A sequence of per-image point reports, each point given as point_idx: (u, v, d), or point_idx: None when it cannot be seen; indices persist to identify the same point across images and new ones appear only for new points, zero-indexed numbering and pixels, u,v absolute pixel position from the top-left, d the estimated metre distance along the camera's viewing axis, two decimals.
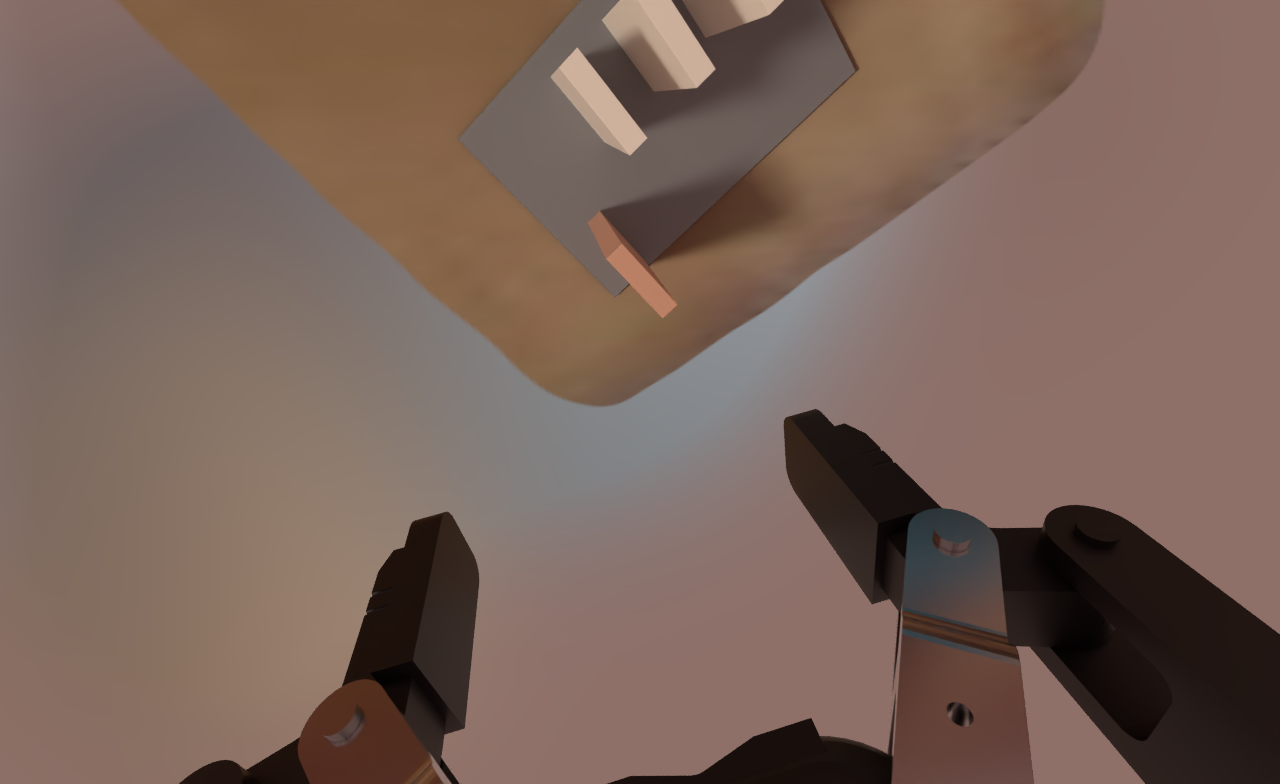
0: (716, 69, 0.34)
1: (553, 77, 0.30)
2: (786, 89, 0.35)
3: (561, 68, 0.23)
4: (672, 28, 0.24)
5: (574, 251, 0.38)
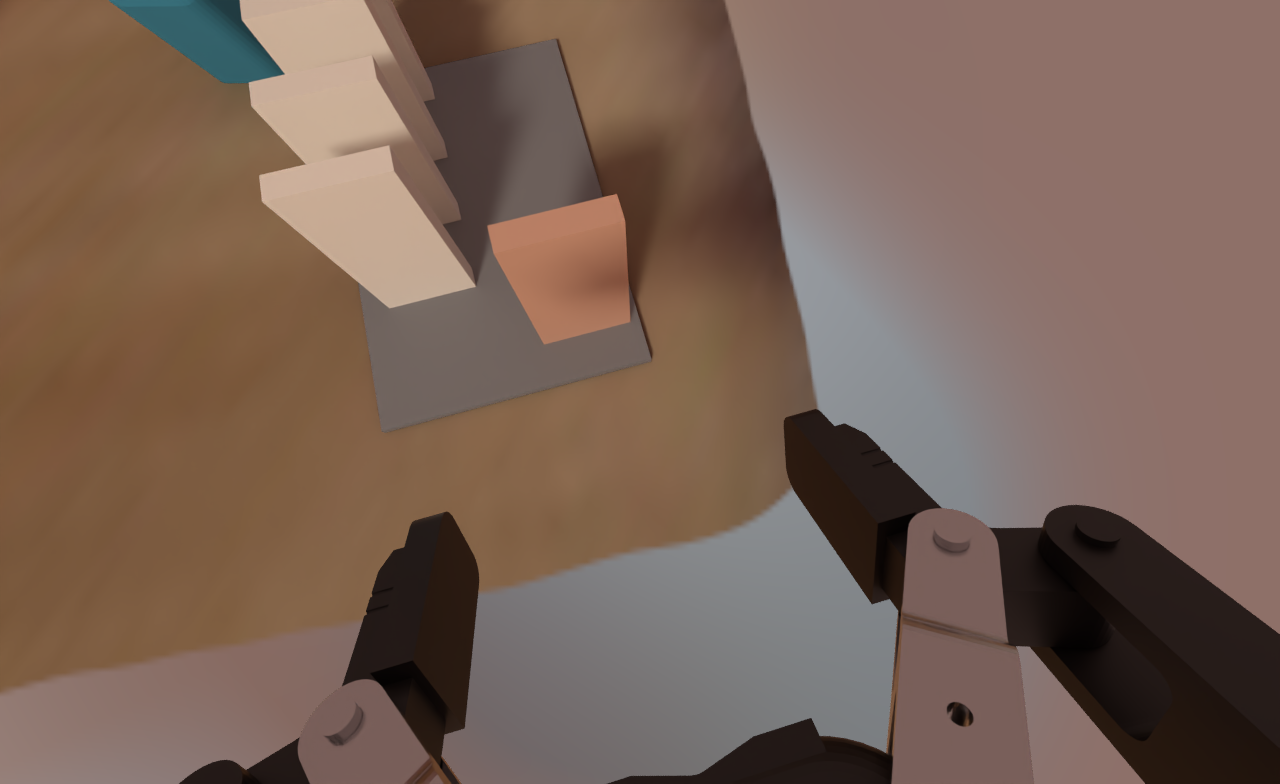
0: (478, 156, 0.31)
1: (372, 291, 0.27)
2: (534, 101, 0.32)
3: (265, 199, 0.19)
4: (309, 81, 0.20)
5: (566, 376, 0.28)
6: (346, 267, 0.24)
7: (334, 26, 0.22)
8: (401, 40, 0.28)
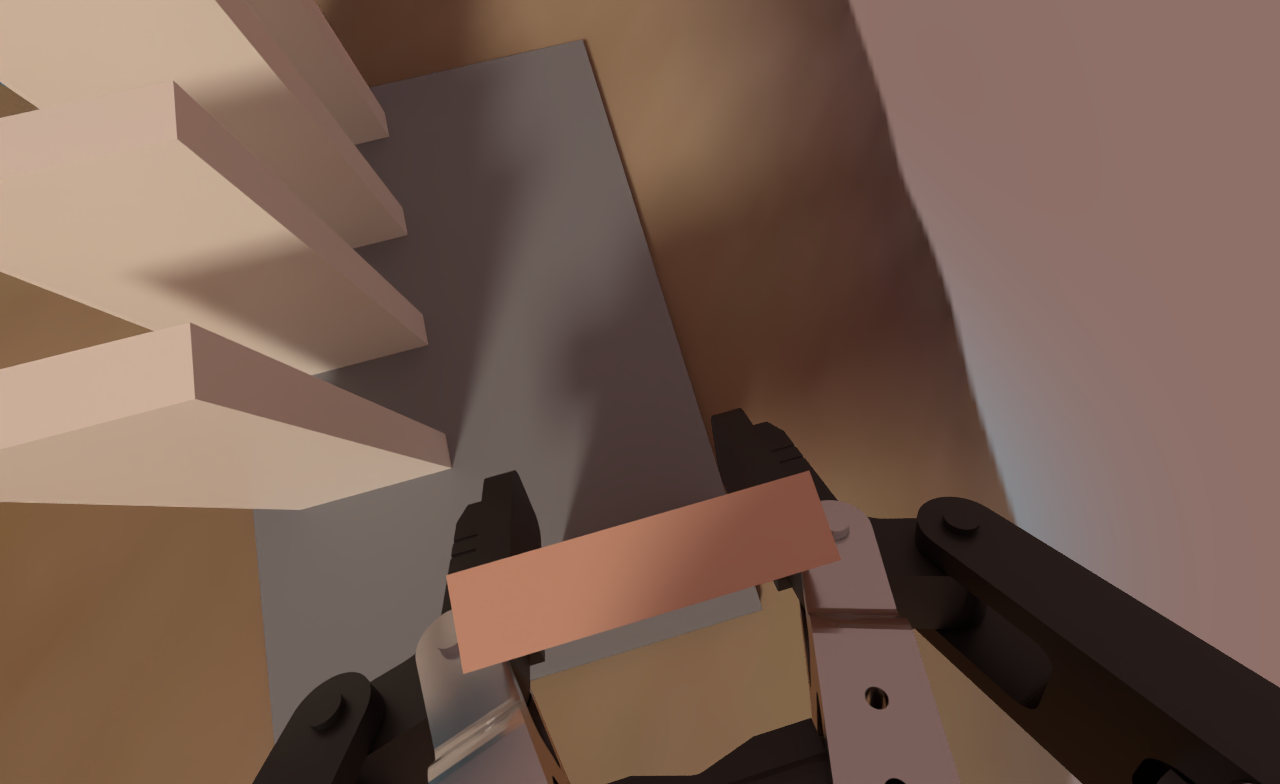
0: (458, 234, 0.19)
1: (256, 507, 0.14)
2: (549, 140, 0.20)
3: None
4: (8, 147, 0.08)
5: (612, 645, 0.16)
6: (178, 503, 0.12)
7: (122, 12, 0.10)
8: (318, 42, 0.16)
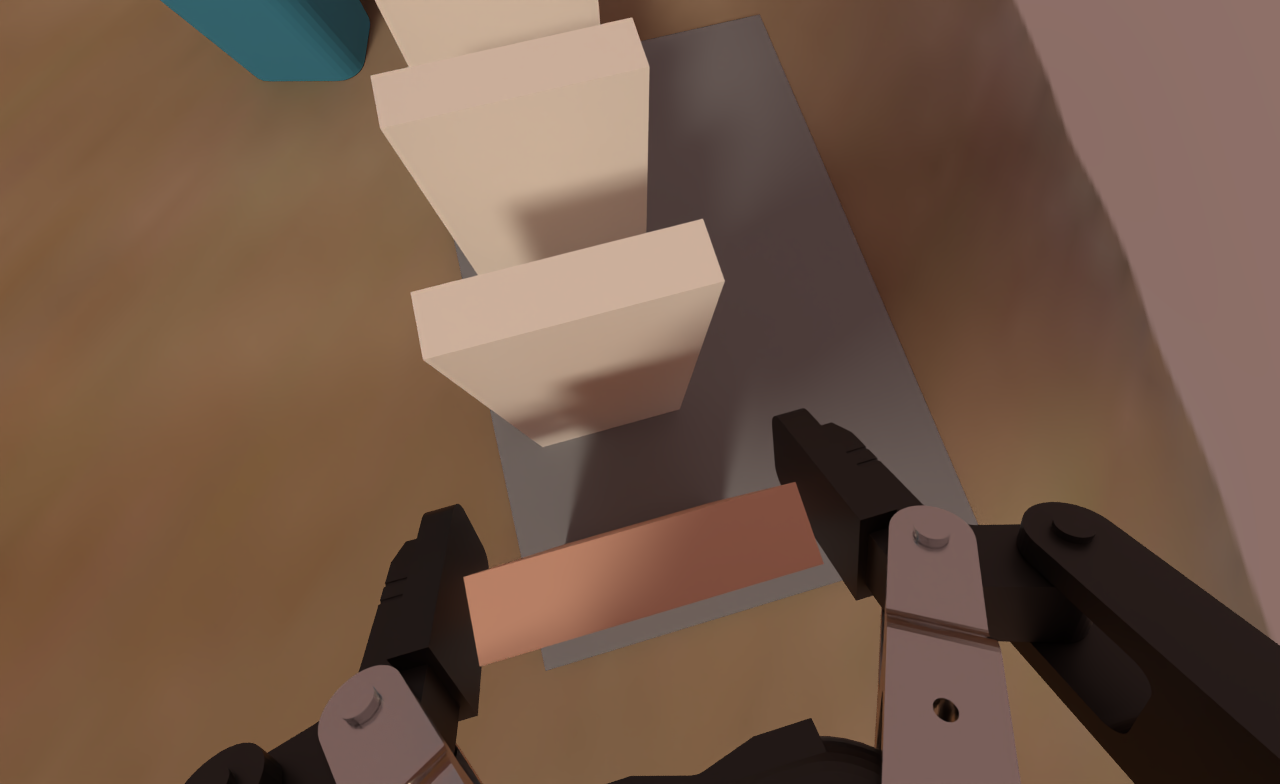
0: (662, 195, 0.20)
1: (533, 436, 0.16)
2: (738, 108, 0.21)
3: (429, 354, 0.08)
4: (503, 74, 0.09)
5: None
6: (516, 419, 0.13)
7: None
8: None
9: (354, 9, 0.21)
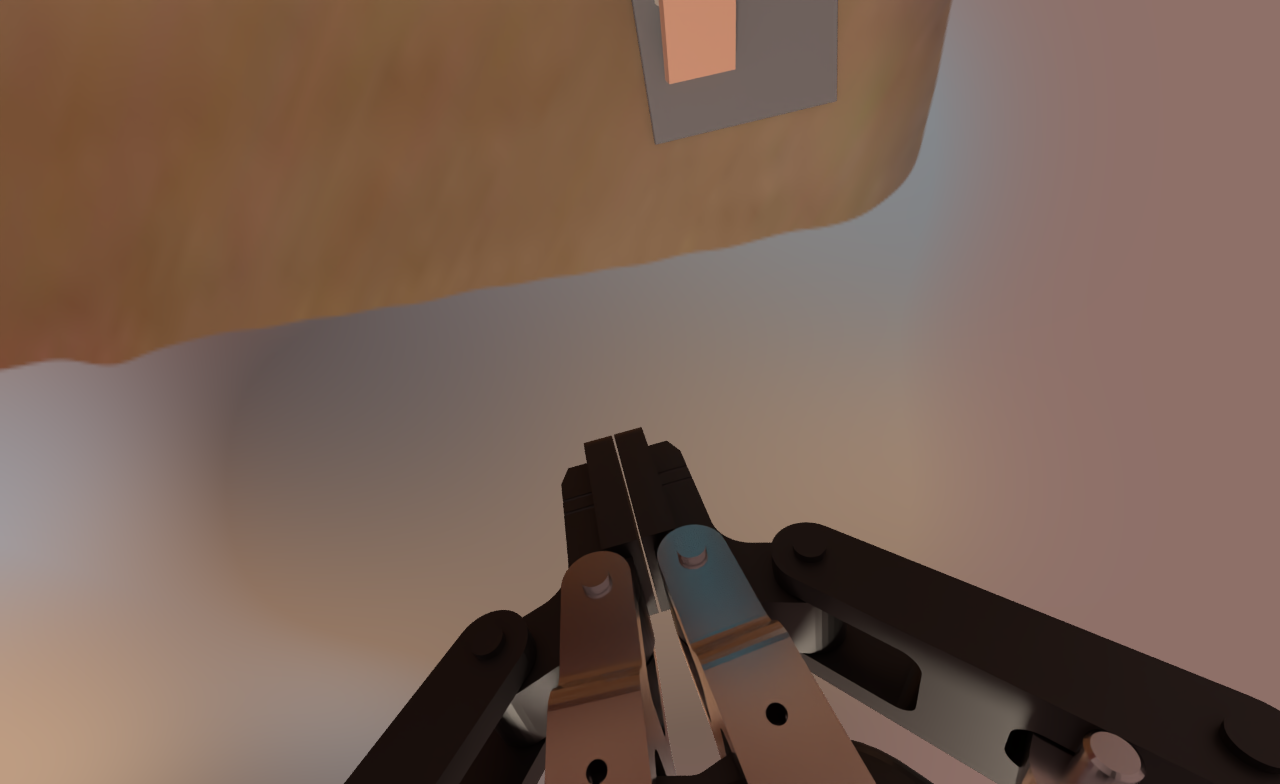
0: None
1: None
2: None
3: None
4: None
5: (780, 110, 0.40)
6: None
7: None
8: None
9: None
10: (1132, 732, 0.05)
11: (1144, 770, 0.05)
